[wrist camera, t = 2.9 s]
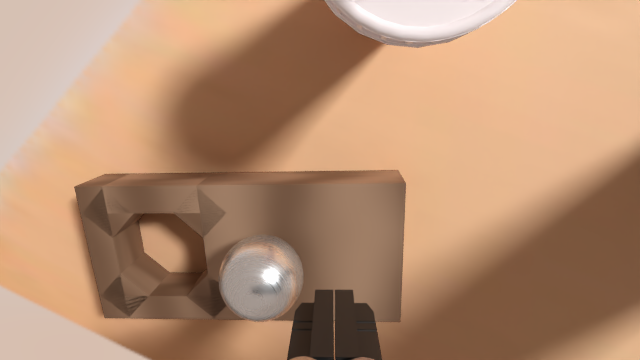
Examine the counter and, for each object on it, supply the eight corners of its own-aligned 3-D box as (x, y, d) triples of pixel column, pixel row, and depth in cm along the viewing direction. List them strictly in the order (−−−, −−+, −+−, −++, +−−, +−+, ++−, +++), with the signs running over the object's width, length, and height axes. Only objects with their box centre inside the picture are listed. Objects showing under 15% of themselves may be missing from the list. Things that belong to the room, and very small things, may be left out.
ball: (305, 221, 18) (296, 260, 14) (308, 289, 19) (300, 342, 15) (229, 221, 18) (199, 260, 15) (236, 288, 20) (211, 340, 16)
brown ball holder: (397, 170, 20) (405, 183, 17) (393, 295, 22) (400, 322, 20) (105, 174, 21) (74, 186, 18) (129, 292, 23) (104, 318, 21)
